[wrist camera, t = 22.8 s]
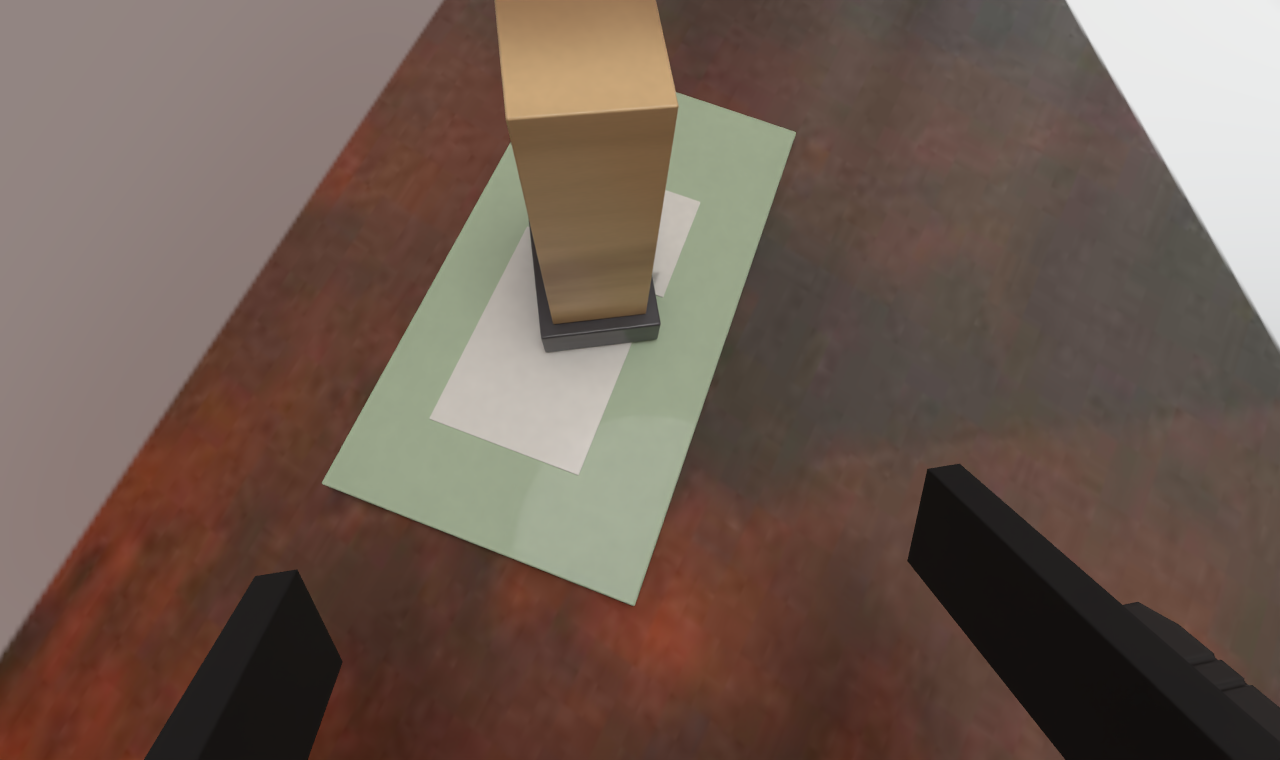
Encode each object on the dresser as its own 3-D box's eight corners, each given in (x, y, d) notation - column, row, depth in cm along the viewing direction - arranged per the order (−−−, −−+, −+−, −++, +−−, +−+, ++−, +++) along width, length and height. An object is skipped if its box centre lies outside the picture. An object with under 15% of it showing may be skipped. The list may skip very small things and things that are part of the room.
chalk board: (633, 605, 19) (634, 606, 19) (328, 485, 20) (319, 483, 19) (792, 141, 26) (797, 130, 26) (560, 63, 27) (559, 51, 26)
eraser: (657, 339, 22) (708, 123, 11) (545, 353, 21) (481, 141, 11) (635, 212, 24) (659, -82, 13) (531, 222, 23) (464, -74, 12)
